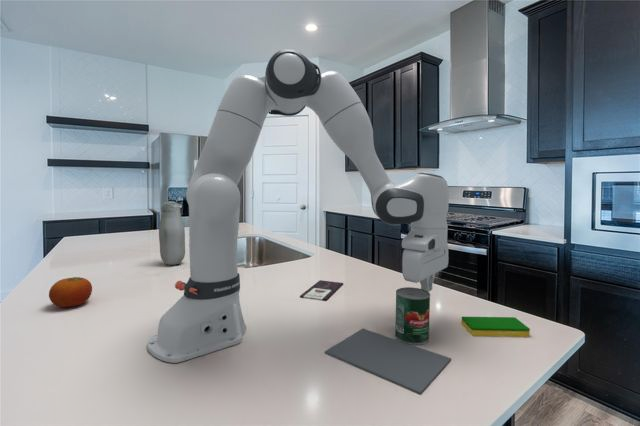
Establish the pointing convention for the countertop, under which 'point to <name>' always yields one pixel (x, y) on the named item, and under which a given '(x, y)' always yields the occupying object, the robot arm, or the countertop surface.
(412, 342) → the canned tomato
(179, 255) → the grey bottle
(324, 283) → the chocolate bar
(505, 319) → the dish sponge
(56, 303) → the fruit
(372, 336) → the rubber mat
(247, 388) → the countertop surface
